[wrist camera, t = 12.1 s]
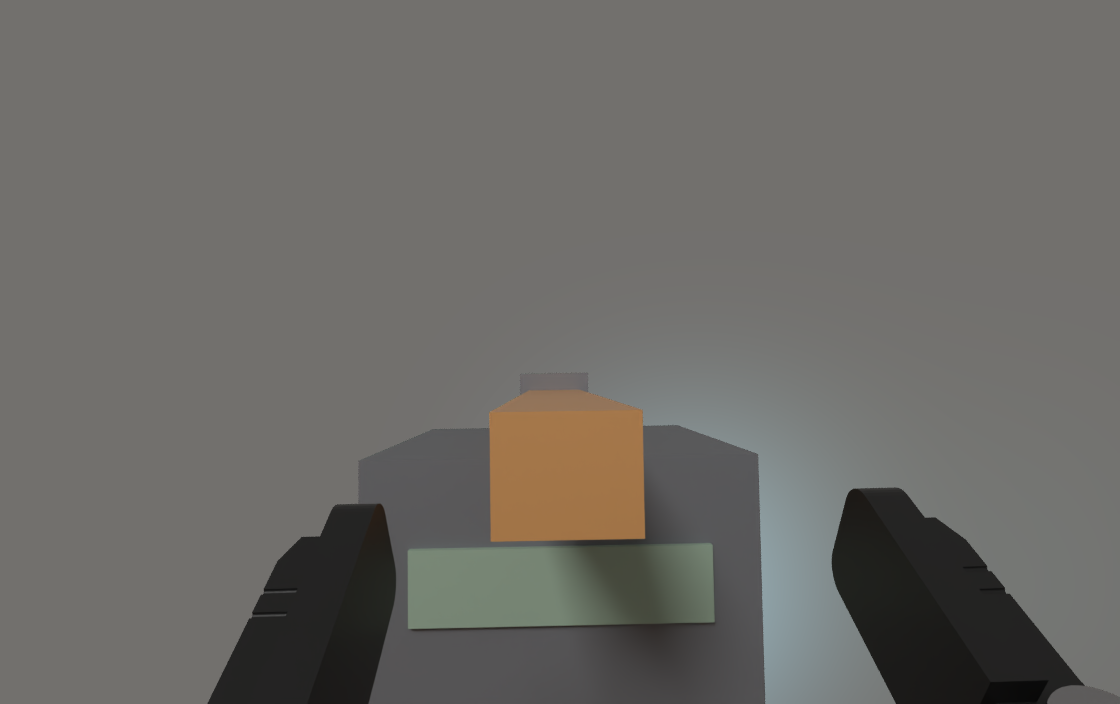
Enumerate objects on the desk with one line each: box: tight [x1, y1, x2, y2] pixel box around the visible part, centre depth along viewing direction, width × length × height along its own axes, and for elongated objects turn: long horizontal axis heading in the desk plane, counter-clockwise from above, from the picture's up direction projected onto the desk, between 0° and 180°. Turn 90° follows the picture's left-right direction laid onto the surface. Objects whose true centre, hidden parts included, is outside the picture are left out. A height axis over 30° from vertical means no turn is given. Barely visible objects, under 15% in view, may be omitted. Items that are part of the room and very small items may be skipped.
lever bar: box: [489, 373, 645, 542], centre depth 27 cm, size 29×4×4 cm, turn 1°
